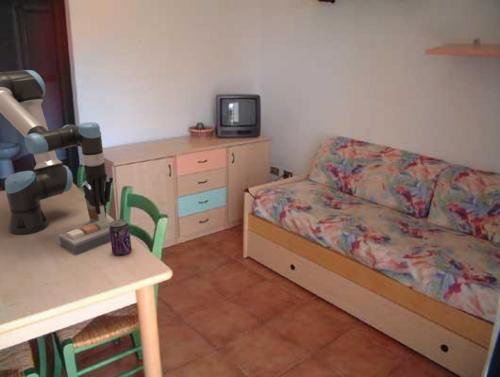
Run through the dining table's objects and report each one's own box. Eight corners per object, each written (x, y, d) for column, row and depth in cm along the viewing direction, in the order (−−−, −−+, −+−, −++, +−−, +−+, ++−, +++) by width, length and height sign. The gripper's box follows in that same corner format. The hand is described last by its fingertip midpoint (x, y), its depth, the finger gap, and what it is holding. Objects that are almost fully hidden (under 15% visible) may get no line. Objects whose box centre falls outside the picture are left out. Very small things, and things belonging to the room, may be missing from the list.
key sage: (95, 229, 178) (94, 222, 177) (105, 226, 181) (104, 219, 180) (101, 232, 175) (100, 225, 174) (111, 229, 178) (110, 222, 177)
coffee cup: (102, 228, 186) (98, 195, 181) (84, 227, 188) (79, 194, 183) (112, 220, 194) (108, 188, 189) (95, 219, 196) (90, 187, 190)
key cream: (68, 239, 170) (66, 232, 169) (78, 235, 173) (77, 228, 172) (73, 242, 167) (72, 235, 166) (84, 238, 170) (83, 231, 169)
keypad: (60, 245, 172) (59, 234, 171) (104, 229, 185) (103, 219, 184) (76, 255, 165) (74, 243, 163) (120, 237, 178) (119, 227, 176)
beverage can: (121, 258, 162) (117, 228, 158) (108, 253, 165) (104, 224, 161) (135, 250, 167) (132, 221, 163) (122, 245, 171) (119, 217, 167)
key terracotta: (82, 234, 174) (81, 227, 173) (92, 230, 177) (91, 223, 176) (87, 237, 171) (86, 230, 170) (98, 233, 174) (97, 226, 173)
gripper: (83, 169, 162) (92, 228, 170) (114, 161, 171) (121, 217, 179) (73, 165, 166) (82, 223, 174) (104, 158, 176) (111, 213, 184)
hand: (102, 220), depth 177 cm, fingers closed
